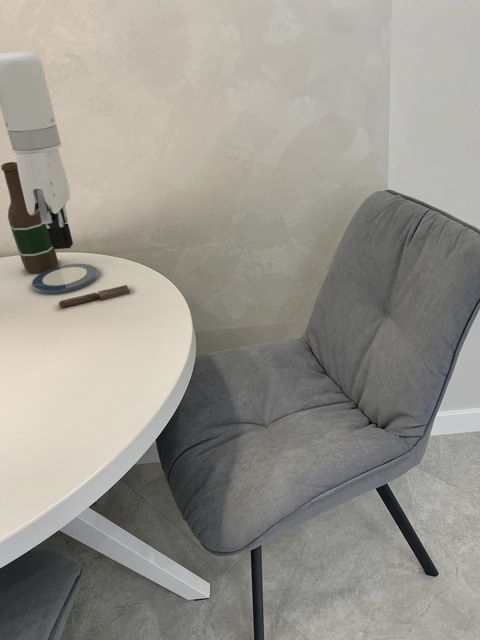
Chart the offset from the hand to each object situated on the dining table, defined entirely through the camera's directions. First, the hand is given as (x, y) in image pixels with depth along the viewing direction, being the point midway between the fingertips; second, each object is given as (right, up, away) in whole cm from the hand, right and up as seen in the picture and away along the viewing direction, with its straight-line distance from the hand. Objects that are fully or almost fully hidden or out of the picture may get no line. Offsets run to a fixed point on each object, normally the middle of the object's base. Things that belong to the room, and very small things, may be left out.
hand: (63, 246), depth 98 cm
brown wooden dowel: (+1, -8, +14) cm, 16 cm away
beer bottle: (-16, +1, +31) cm, 35 cm away
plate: (-8, -3, +24) cm, 25 cm away
